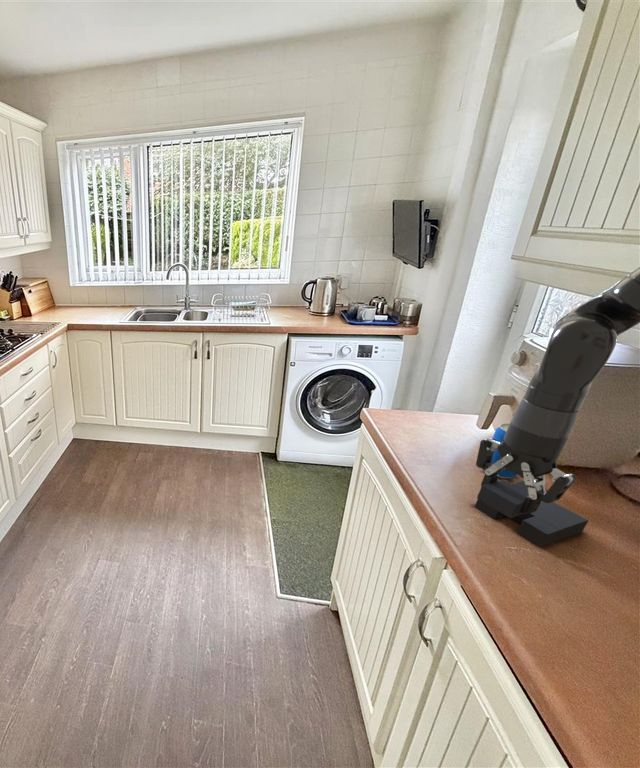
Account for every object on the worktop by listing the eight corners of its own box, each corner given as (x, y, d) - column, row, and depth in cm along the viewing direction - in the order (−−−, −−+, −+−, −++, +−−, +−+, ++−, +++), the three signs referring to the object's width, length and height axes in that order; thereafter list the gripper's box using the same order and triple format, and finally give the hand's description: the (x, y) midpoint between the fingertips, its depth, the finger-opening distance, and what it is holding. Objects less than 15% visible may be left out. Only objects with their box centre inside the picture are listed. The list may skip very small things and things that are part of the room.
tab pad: (509, 488, 83) (515, 476, 81) (544, 507, 77) (551, 494, 76) (476, 498, 80) (481, 485, 79) (510, 518, 75) (516, 505, 74)
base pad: (513, 495, 90) (518, 483, 89) (581, 532, 80) (589, 520, 78) (474, 506, 87) (479, 494, 86) (540, 547, 76) (547, 534, 75)
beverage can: (509, 468, 99) (528, 425, 94) (520, 483, 94) (540, 439, 89) (477, 462, 102) (493, 420, 97) (485, 476, 96) (503, 433, 92)
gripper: (608, 442, 66) (564, 522, 73) (509, 405, 78) (479, 475, 85) (578, 450, 64) (535, 531, 71) (481, 410, 76) (453, 482, 83)
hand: (505, 500), depth 78 cm, fingers closed on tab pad, 6 cm apart
